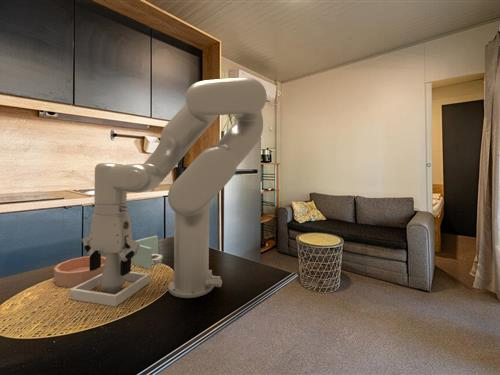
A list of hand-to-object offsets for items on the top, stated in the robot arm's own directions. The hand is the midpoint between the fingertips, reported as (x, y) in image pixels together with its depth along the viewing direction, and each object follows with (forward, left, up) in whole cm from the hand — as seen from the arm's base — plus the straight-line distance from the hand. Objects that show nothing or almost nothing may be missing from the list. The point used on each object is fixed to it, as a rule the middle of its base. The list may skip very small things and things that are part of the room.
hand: (110, 271), depth 68 cm
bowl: (+14, -5, -5) cm, 16 cm away
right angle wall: (+2, -23, -6) cm, 24 cm away
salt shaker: (-1, 0, -6) cm, 6 cm away
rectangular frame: (-1, 0, -5) cm, 5 cm away
